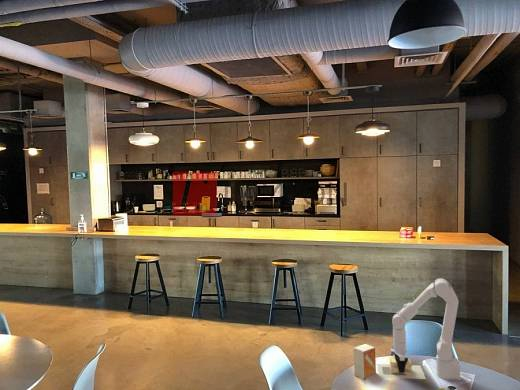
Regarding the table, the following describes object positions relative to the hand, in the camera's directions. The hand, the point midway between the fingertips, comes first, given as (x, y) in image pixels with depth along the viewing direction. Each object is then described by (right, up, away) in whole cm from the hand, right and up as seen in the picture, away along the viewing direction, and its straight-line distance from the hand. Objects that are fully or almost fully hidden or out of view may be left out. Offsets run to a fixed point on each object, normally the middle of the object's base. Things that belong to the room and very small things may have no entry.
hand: (400, 369), depth 197 cm
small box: (-16, -3, 0) cm, 17 cm away
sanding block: (0, -1, 0) cm, 1 cm away
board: (0, -2, 0) cm, 2 cm away
